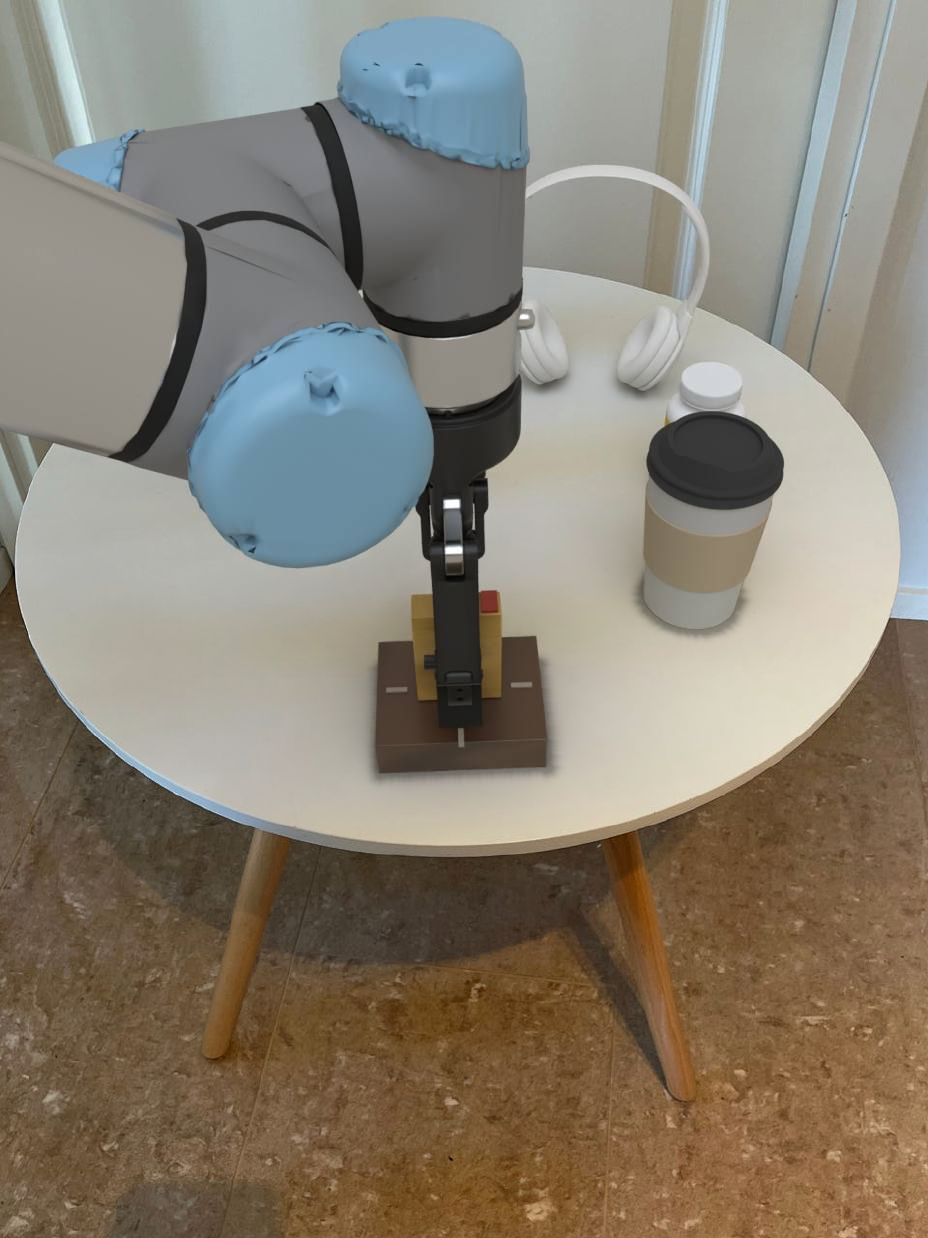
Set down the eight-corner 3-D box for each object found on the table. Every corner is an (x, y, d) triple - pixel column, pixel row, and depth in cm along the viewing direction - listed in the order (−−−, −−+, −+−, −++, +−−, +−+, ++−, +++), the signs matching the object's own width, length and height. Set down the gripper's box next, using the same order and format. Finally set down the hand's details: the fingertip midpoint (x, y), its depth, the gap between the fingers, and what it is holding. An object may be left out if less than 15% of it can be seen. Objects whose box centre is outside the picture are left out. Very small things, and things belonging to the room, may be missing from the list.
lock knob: (418, 701, 70) (410, 615, 64) (417, 678, 71) (410, 591, 65) (501, 698, 70) (501, 611, 64) (499, 674, 71) (499, 587, 65)
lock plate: (378, 778, 69) (374, 749, 67) (381, 666, 76) (378, 636, 74) (546, 771, 69) (548, 742, 67) (534, 660, 76) (536, 630, 74)
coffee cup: (658, 541, 84) (682, 381, 73) (767, 580, 81) (810, 419, 70) (609, 612, 79) (627, 451, 68) (723, 657, 76) (762, 496, 65)
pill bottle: (690, 457, 91) (708, 346, 83) (746, 492, 88) (771, 379, 80) (640, 488, 89) (654, 376, 81) (696, 525, 85) (717, 411, 77)
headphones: (690, 408, 96) (724, 194, 82) (490, 396, 98) (489, 184, 84) (689, 365, 101) (722, 154, 87) (499, 354, 103) (499, 147, 89)
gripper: (538, 504, 46) (527, 802, 62) (509, 268, 60) (506, 562, 76) (364, 511, 45) (399, 807, 62) (376, 273, 60) (402, 566, 76)
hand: (458, 672), depth 69 cm, fingers open, 8 cm apart
